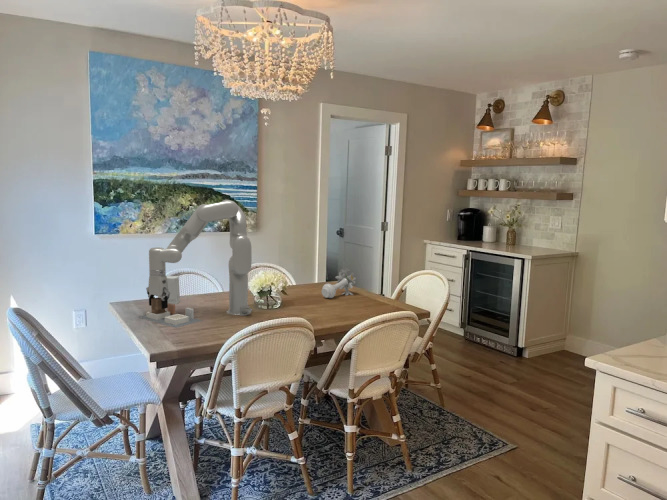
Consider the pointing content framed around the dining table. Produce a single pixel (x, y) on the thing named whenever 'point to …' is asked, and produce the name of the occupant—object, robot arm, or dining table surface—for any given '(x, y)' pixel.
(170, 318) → the tag board
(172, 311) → the terracotta tag
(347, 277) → the flower vase
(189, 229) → the robot arm
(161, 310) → the walnut plug
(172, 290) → the skincare box
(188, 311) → the pale grey tag
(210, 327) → the dining table surface
